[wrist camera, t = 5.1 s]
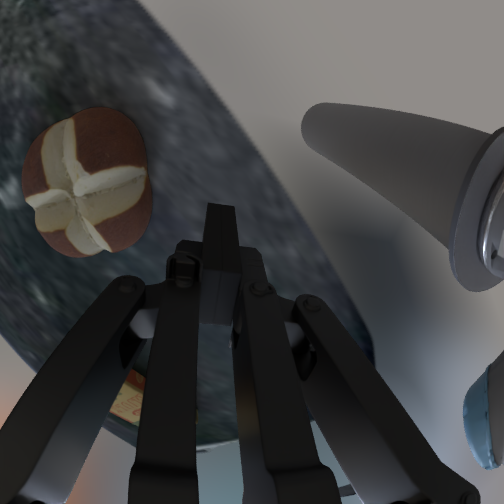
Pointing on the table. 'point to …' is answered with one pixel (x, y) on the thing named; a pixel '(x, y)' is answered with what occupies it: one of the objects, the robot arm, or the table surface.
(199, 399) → the table surface
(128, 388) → the carton
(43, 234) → the bread
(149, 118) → the table surface
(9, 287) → the table surface
